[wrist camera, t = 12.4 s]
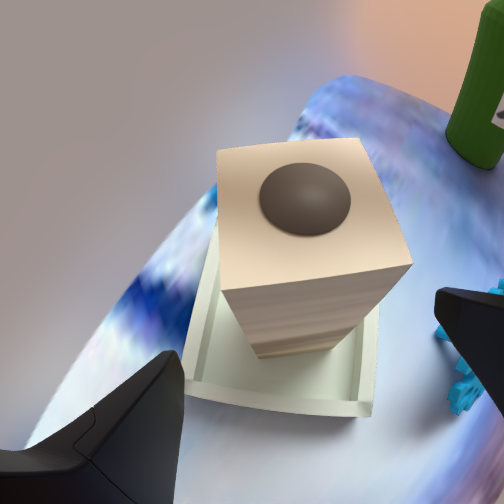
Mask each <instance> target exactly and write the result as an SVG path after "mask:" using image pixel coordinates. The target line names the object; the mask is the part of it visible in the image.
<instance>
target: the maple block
mask: <svg viewBox="0 0 504 504" xmlns="http://www.w3.org/2000/svg"><path fill="white" fill-rule="evenodd" d="M217 197H218V234H219V262H220V284H221V292H222V293H223V295H224V297H225V299H226V301H227V303H228V305H229V307H230V308H231V310H232V312H233V314H234V316H235V318H236V320H237V321H238V323H239V325H240V327H241V329H242V330H243V332H244V334H245V336H246V338H247V340H248V341H249V343H250V345H251V347H252V348H253V350H254V352H255V354H256V356H257V357H258V359H267V358H276V357H284V356H291V355H299V354H305V353H312V352H318V351H324V350H330V349H333V348H334V347H335V346H336V345H337V344H338V343H339V342H340V341H342V340H343V339H344V338H345V337H346V336H347V335H348V334H349V333H350V332H351V331H352V330H353V329H354V328H355V327H356V326H357V325H358V324H359V323H360V322H361V321H362V320H363V319H364V318H365V317H366V316H367V315H368V314H369V313H370V312H371V311H372V309H373V308H374V307H375V306H376V305H377V304H378V303H379V302H380V301H381V300H382V299H383V298H384V297H385V296H386V294H387V293H388V292H389V291H390V290H391V289H392V288H393V287H394V285H395V284H396V283H397V282H398V281H399V280H400V279H401V277H402V276H403V275H404V274H405V273H406V272H407V270H408V269H409V268H410V267H411V266H412V264H413V261H412V258H411V255H410V252H409V250H408V247H407V244H406V241H405V239H404V236H403V233H402V231H401V228H400V226H399V223H398V221H397V218H396V216H395V213H394V211H393V208H392V206H391V204H390V201H389V199H388V197H387V195H386V192H385V190H384V188H383V186H382V184H381V181H380V179H379V177H378V175H377V173H376V171H375V169H374V167H373V165H372V163H371V161H370V159H369V157H368V155H367V153H366V151H365V149H364V147H363V145H362V143H361V142H360V140H359V138H335V139H316V140H302V141H290V142H279V143H269V144H260V145H253V146H245V147H237V148H230V149H224V150H217Z"/></svg>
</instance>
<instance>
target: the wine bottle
mask: <svg viewBox="0 0 504 504" xmlns="http://www.w3.org/2000/svg"><path fill="white" fill-rule="evenodd" d="M446 136H447V139H448V141H449V143H450V144H451V146H452V147H453V148H454V149H455V150H456V151H457V152H458V153H459V154H460V155H461V156H462V157H463V158H464V159H466V160H467V161H469V162H470V163H472V164H474V165H475V166H477V167H480V168H483V169H492V168H493V167H494V166H495V165H496V164H497V163H498V161H499V160H500V158H501V156H502V154H503V153H504V0H491V1H490V2H488V3H487V4H486V5H485V7H484V9H483V11H482V13H481V18H480V23H479V27H478V32H477V36H476V40H475V44H474V48H473V52H472V55H471V59H470V62H469V66H468V69H467V72H466V75H465V78H464V81H463V85H462V88H461V90H460V93H459V96H458V99H457V102H456V105H455V107H454V110H453V113H452V115H451V118H450V120H449V123H448V125H447V128H446Z"/></svg>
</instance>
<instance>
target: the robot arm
mask: <svg viewBox="0 0 504 504" xmlns="http://www.w3.org/2000/svg"><path fill="white" fill-rule="evenodd" d="M434 314H435V317H436V319H437V320H438V322H439V323H440V325H441V326H442V328H443V330H444V331H445V333H446V334H447V336H448V337H449V339H450V341H451V342H452V344H453V345H454V347H455V348H456V350H457V351H458V352H459V354H460V355H461V356H462V358H463V359H464V360H465V362H466V363H467V364H468V366H469V367H470V368H471V370H472V371H473V372H474V374H475V375H476V377H477V378H478V380H479V381H480V382H481V384H482V385H483V387H484V388H485V390H486V391H487V393H488V394H489V396H490V397H491V399H492V400H493V402H494V403H495V405H496V406H497V408H498V409H499V411H500V412H501V414H502V416H503V417H504V295H499V294H492V293H485V292H478V291H471V290H464V289H457V288H450V287H444V288H441V289H439V290H437V292H436V295H435V305H434ZM184 388H185V374H184V370H183V367H182V365H181V362H180V359H179V357H178V354H177V352H176V351H175V350H168V351H163V352H161V353H160V354H159V355H157V356H156V357H155V358H154V359H152V360H151V361H150V362H149V363H147V364H146V365H145V366H144V367H142V368H141V369H140V370H139V371H137V372H136V373H135V374H134V375H132V376H131V377H130V378H129V379H127V380H126V381H125V382H124V383H122V384H121V385H120V386H118V387H117V388H116V389H115V390H113V391H112V392H111V393H110V394H108V395H107V396H106V397H104V398H103V399H102V400H101V401H99V402H98V403H97V404H95V405H94V408H93V407H91V408H90V409H89V410H88V411H86V412H85V413H84V414H82V415H81V416H80V417H78V418H77V419H75V420H74V421H73V422H71V423H70V424H68V425H67V426H65V427H64V428H62V429H60V430H59V431H57V432H56V433H54V434H52V435H51V436H49V437H48V438H46V439H44V440H43V441H41V442H39V443H38V444H36V445H34V446H33V447H31V448H28V449H25V450H21V451H8V450H1V449H0V504H173V499H174V489H175V480H176V472H177V464H178V456H179V448H180V440H181V433H182V426H183V418H184Z"/></svg>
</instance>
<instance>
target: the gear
mask: <svg viewBox="0 0 504 504" xmlns="http://www.w3.org/2000/svg"><path fill="white" fill-rule="evenodd" d="M488 293H492V294H499V295H504V279H501V278H500V281H499V284H498V289H497V288H491V289H490V290H489V291H488ZM436 336H437V337H439V338H442V339H444V340H447V341H449V342H451V341H450V339H449V337H448V336H447V334H446V333H445V331H444V330H443V328H442V326H441V325H439V327H438V328H437V331H436ZM456 370H457V371H460V372H462V373H464V374H465V376H464V378H463V379H462V381H461V382H458V381H455V382H454V384H453V385H452V386H451V389H450V391H449V394H448V398H447V399H448V400H449V401H451V402H452V403H451V404H450V408H449V409H450V412H452V413H454V414H456V415H458V416H459V414H460V413H461V412H462V410H465V411H468V410H469V409H470V408H471V406H472V404H473V402H474V400H475V397H478V398H479V397H480V396H481V395H482V393H483V392H484V390H485V388H484V387H483V385H482V384H481V382H480V381H479V380H478V378H477V377H476V375H475V374H474V372H473V371H472V370H471V368H470V367H469V366H468V364H467V363H466V362H465V360H464V359H463V358H462V356H460V359H459V361H458V363H457V366H456Z"/></svg>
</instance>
